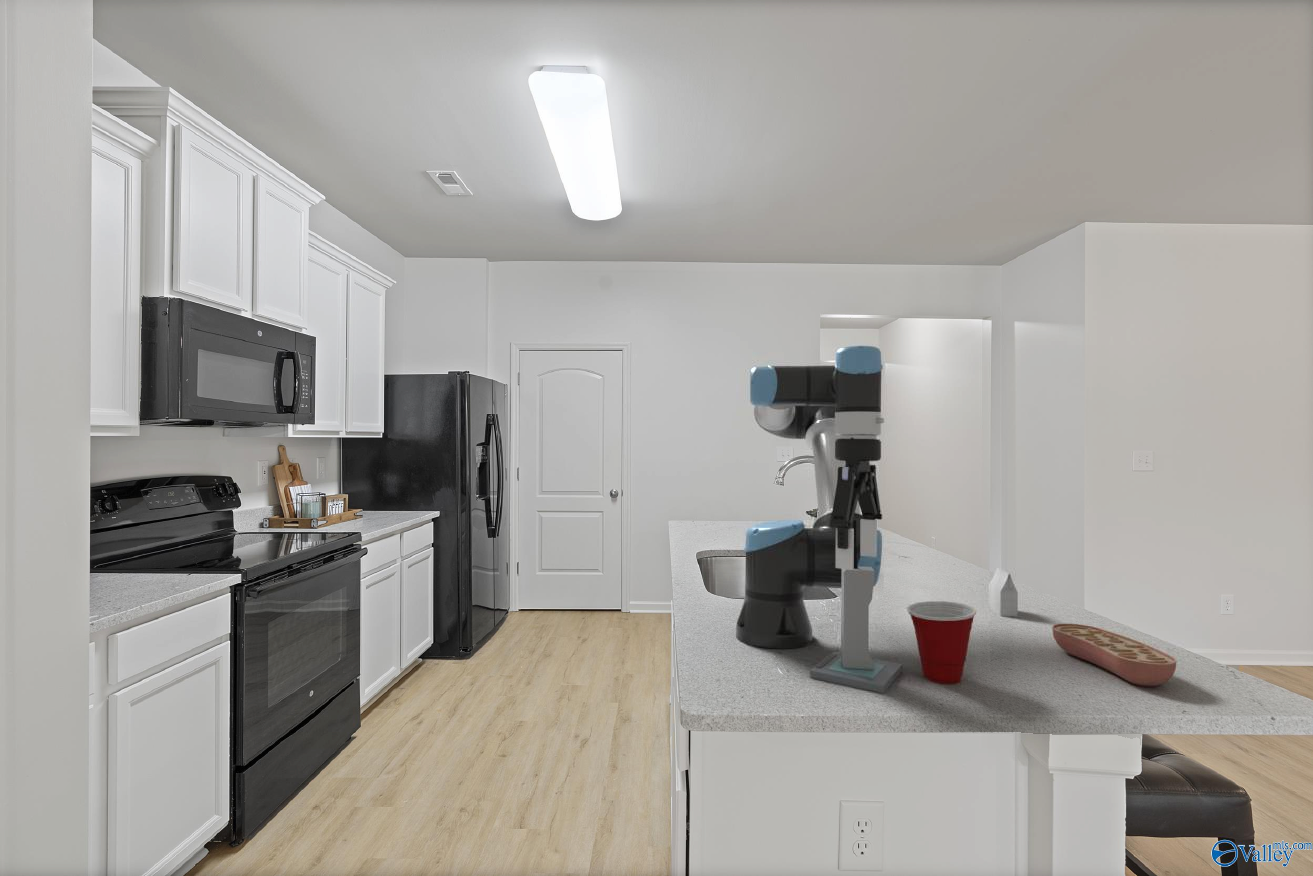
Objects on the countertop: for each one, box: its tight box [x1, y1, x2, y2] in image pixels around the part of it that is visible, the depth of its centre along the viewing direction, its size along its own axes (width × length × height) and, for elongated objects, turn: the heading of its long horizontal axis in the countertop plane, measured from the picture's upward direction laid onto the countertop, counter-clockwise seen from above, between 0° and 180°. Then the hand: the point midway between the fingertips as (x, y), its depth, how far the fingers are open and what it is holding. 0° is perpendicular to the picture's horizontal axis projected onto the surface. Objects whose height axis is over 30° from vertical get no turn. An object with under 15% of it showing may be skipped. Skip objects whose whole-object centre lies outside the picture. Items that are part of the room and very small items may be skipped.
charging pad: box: [809, 651, 903, 694], centre depth 111 cm, size 12×12×1 cm
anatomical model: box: [1051, 622, 1177, 688], centre depth 114 cm, size 23×10×5 cm, turn 4°
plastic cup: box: [906, 600, 978, 685], centre depth 109 cm, size 11×11×12 cm
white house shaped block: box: [988, 567, 1019, 618], centre depth 150 cm, size 4×7×10 cm, turn 173°
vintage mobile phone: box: [840, 520, 875, 670], centre depth 111 cm, size 4×5×25 cm
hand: (857, 562), depth 111 cm, fingers open, 13 cm apart
